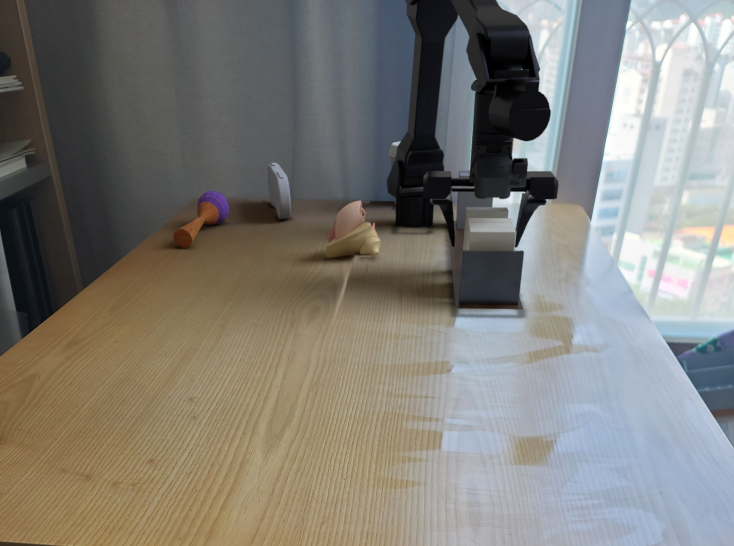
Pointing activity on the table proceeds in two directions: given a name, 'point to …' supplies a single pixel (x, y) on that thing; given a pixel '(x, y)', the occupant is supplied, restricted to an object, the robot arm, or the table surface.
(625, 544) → the table surface
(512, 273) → the book rack
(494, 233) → the cream books
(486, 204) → the grey books
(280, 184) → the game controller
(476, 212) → the ivory book
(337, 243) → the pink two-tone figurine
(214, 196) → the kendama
